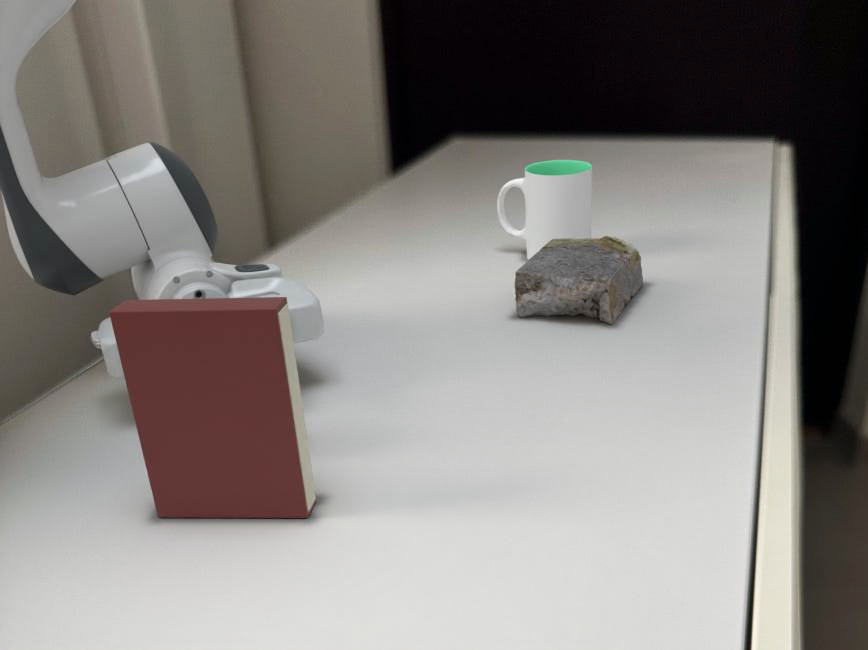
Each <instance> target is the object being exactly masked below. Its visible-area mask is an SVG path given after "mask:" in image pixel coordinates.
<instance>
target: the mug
mask: <svg viewBox="0 0 868 650" xmlns="http://www.w3.org/2000/svg"><path fill="white" fill-rule="evenodd" d="M512 188H519V189H520V190H521V191H522V193H523V196H524V205H525V223H524V226H523V228H522V229H517V228H515V227H513V226H512V225H511V223H510V222H509V220H508V218H507V215H506V210H505V200H506V195H507V193H508V191H509V190H510V189H512ZM592 197H593V165H592V164H591V163H589V162H587V161H582V160H575V159H552V160H544V161H538V162H534V163H531V164H529V165H527V166H525V167H524V177H520V178H515V179H511V180H509V181H507V182H506V183H505V184H503V186H502V187H501V189H500V191H499V193H498V196H497V202H496V211H497V217H498V220H499V224H500V225H501V227H502V228H503V230H504V231H505V232H506V233H508V234H509V235H510V236H511V237H515V238H518V239H523V240H524V241H525V244H526V259H527V261H528V260H529V259H530V258H531V257H533V256H534V255H535V254H536V253H537V252H539V250H540V249H541V248H542V247H543V246H545V245H546V244H547V243H548V242H549V241H550V240H552V239H561V238H573V239H586V238H592V217H593V216H592V214H593V213H592V208H593V204H592V203H593V198H592Z"/></svg>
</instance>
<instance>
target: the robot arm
mask: <svg viewBox="0 0 868 650" xmlns="http://www.w3.org/2000/svg"><path fill="white" fill-rule="evenodd" d="M76 2H77V0H0V194H1V197H2V202H3V209H4V215H5V221H6V227H7V233H8V235H9V239H10V243H11V246H12V249H13V251H14V253H15V256H16V257H17V259H18V261H19V264H20V265H21V266H22V268H23V269H24V271H25V272H26V273H27V275H28V276H29V277H30V278H31V279H32V280H33V281H34V283H35V284H37V285H38V286H40V287H43V288H45V289H48V290H51V291H53V292H56V293H61V294H65V295H69V296H77V295H79V294H81V293H82V292H84V291H86V290H88V289H90V288H92V287H94V286H97V285H98V284H100V283H102V282H104V280H105V279H107V278H109V277H112V276H115V275H117V274H119V273H121V272H125V271H127V270H129V269H131V272H130V273H131V280H132V285H133V289H134V293H135V295H136V299H137V300H154V299H207V298H259V297H286V298H287V304H288V308H289V315H290V322H291V329H292V336H293V343H294V345H296V344H300V343H304V342H311V341H316V340H318V339H320V338H321V337H322V336H323V335H324V332H325V325H324V316H323V311H322V306H321V302H320V300H319V298H318V296H317V295H316V294H315V293H314V292H312V290H310V288H308V287H307V286H306V285H304V284H303V283H301V282H300V281H298V280H297V279H294V278H291V277H287V276H284V274H283V271H282V268H281V267H280V266H279V265H277V264H273V263H267V264H263V263H262V264H261V263H259V264H258V263H257V264H228V263H222V262H216V261H215V260H214V259H213V256H214V255H215V253H216V250H217V248H218V247H217V246H218V239H219V228H218V224H217V221H216V218H215V215H214V211H213V209H212V206H211V204H210V202H209V200H208V196H207V195H206V193H205V191H204V189H203V187H202V185H201V183H200V182H199V180H198V178H197V176H195V173H194V172H193V171H192V169H191V167H189V165H188V164H187V163H186V161H185V160H184V159H183V158H182V157H181V156H179V155H178V154H176V153H175V152H173V151H172V150H170V149H169V148H167V147H166V146H163V145H161V144H159V143H156V142H153V141H148V142H145V143H143V144H142V143H141V144H139V145H136V146H133V147H130V148H128V149H125V150H123V151H119V152H118V153H115V154H111V155H110V156H106V157H104V159H101V160H99V161H96V162H93V163H91V164H89V165H85V166H83V167H81V168H78V169H76V170H73V171H70V172H66V173H65V174H62V175H59V176H56V177H45V176H43V174H42V173H41V171H40V167H39V164H38V160H37V157H36V155H35V151H34V148H33V145H32V141H31V138H30V135H29V131H28V128H27V125H26V122H25V118H24V115H23V112H22V109H21V105H20V103H19V99H18V98H19V97H18V93H17V80H18V74H19V71H20V68H21V65H22V63H23V62H24V60H25V58H26V56H27V55H28V54H29V52H30V51H31V50H32V48H33V47H34V45H36V43H37V42H39V40H41V38H42V37H44V35H45V34H46V33H47V32H49V30H50V29H51V28H52V27H53V26H54V25H55V24H56V23H57V22H58V21H59V20H60V19H62V17H64V16H65V14H67V12H68V11H69V10H70V9H71V8H73V6H74V4H75V3H76ZM90 334H91V335H90V340H91V342H92V344H93V345H94V347H95V348H97V349H99V350H101V353H102V357H103V361H104V365H105V368H106V370H107V374H108V375H109V377H110V378H115V379H122V380H123V379H125V377H124V373H123V369H122V364H121V360H120V356H119V352H118V348H117V343H116V339H115V335H114V331H113V327H112V322H111V318H110V316H109V317H106V318H105V319H103V320H102V321H101V322H100V323H99V326H98V330H94V331H92V332H90Z"/></svg>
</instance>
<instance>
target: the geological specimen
mask: <svg viewBox="0 0 868 650" xmlns="http://www.w3.org/2000/svg"><path fill="white" fill-rule="evenodd" d="M643 284H644V277H643V268H642V256H641V254H640V251H639V250H638V249H637V248H636V247H635V246H634V244H632V243H630V242H628V241H625V240H624V239H621V238H618V237H615V236H614V237H613V236H608V235H605V236H602V237H599V238H598V237H597V238H594V237H593V238H592V237H591V238H586V239H573V238H561V239H552V240H550V241H549V242H548V243H547V244H546V245H545V246H543V247H542V248H541V249H540V250H539V252H537V253H536V254H535V255H534V256H533V257H531V258H530V259H529V260H528V259H527V261H526V262H524V264H522V265H521V266H520V267H519V268H518V269H517V270H516V271H515V278H514V290H515V291H514V292H515V293H514V294H515V299H514V300H515V310H516V313H517V317H519V318H528V317H536V316H545V317H551V316H567V315H569V316H572V317H574V316H578V315H580V314H582V315H584V316H585V317H586V318H590V319H591V318H592V319H594V318H598V319H599V320H600V322H603V323H606V324H608V325H614V323H615V321H617V319H618V317H619V316H620V315H621V314H622V312H623V310H624V309H625V307H626V306H628V304H629V303H630V301H631V298H633V297H634V296H636V294H637V293H638V291H640V289H641V288H642V287H643Z"/></svg>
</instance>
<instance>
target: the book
mask: <svg viewBox="0 0 868 650" xmlns="http://www.w3.org/2000/svg"><path fill="white" fill-rule="evenodd" d="M108 314H109V317H110V318H111V322H112V327H113V331H114V335H115V339H116V343H117V348H118V352H119V356H120V360H121V364H122V369H123V373H124V377H125V378H124V381H125V386H126V389H127V393H128V399H129V401H130V402H129V403H130V407H131V411H132V414H133V418H134V423H135V427H136V430H137V435H138V440H139V443H140V448H141V452H142V456H143V461H144V465H145V469H146V473H147V477H148V482H149V485H150V489H151V494H152V498H153V502H154V507H155V511H156V515H157V517H158V518H206V519H207V518H211V519H212V518H215V519H217V518H218V519H219V518H220V519H221V518H223V519H225V518H228V519H229V518H231V519H232V518H233V519H234V518H235V519H236V518H237V519H242V518H243V519H246V518H247V519H253V518H254V519H259V518H260V519H308V518H309V515H310V514H311V511H313V510H312V509H313V508H314V506H315V504H316V502H317V496H316V488H315V482H314V474H313V469H312V467H313V466H312V461H311V454H310V447H309V440H308V432H307V426H306V419H305V412H304V406H303V399H302V390H301V383H300V378H299V372H298V364H297V357H296V351H295V344H294V343H293V336H292V329H291V322H290V315H289V308H288V304H287V298H286V297H259V298H207V299H154V300H138V299H124V300H123V301H122V302H121V303H119V304H118V305H117V306H115V307H114V308H112V309H111V310H110V311H109V312H108Z"/></svg>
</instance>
